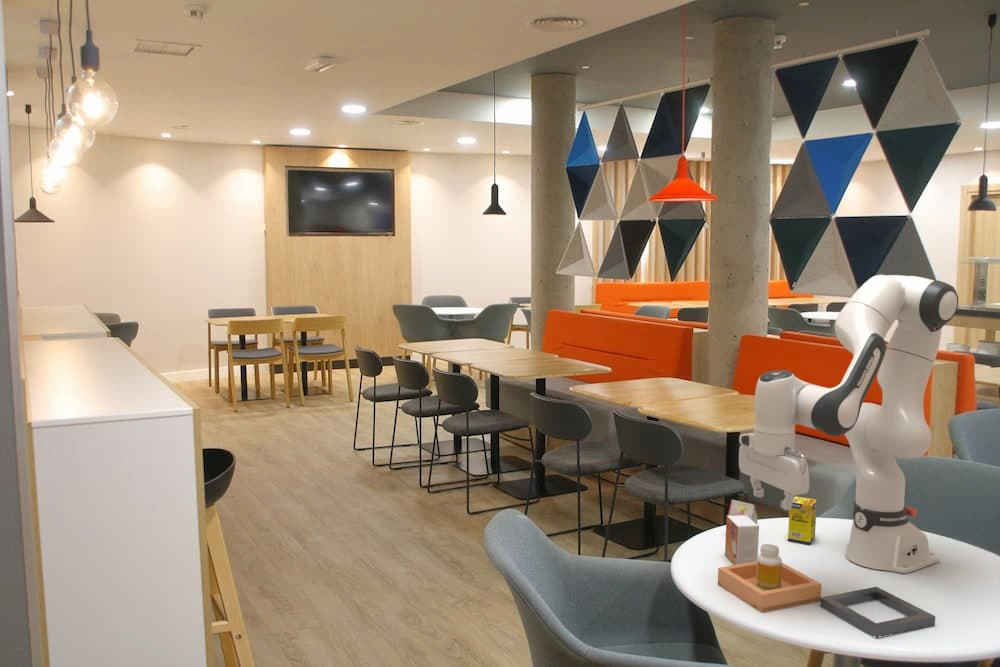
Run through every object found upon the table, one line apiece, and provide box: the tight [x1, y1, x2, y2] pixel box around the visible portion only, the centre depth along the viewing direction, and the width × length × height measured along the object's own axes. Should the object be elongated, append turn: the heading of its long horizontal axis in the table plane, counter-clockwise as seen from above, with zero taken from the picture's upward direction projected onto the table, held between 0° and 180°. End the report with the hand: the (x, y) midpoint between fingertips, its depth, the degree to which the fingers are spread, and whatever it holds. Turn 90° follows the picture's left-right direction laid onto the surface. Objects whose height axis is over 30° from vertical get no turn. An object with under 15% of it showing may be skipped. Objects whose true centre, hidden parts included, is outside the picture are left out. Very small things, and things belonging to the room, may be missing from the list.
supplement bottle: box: [756, 543, 783, 591], centre depth 193 cm, size 5×5×10 cm
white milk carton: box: [727, 499, 758, 525], centre depth 227 cm, size 4×7×10 cm, turn 45°
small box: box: [724, 515, 760, 565], centre depth 211 cm, size 8×6×10 cm
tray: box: [717, 561, 822, 613], centre depth 193 cm, size 16×16×4 cm
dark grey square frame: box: [819, 586, 936, 637], centre depth 181 cm, size 16×16×2 cm
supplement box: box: [787, 495, 818, 546], centre depth 225 cm, size 6×6×11 cm
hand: (772, 502), depth 191 cm, fingers open, 8 cm apart
